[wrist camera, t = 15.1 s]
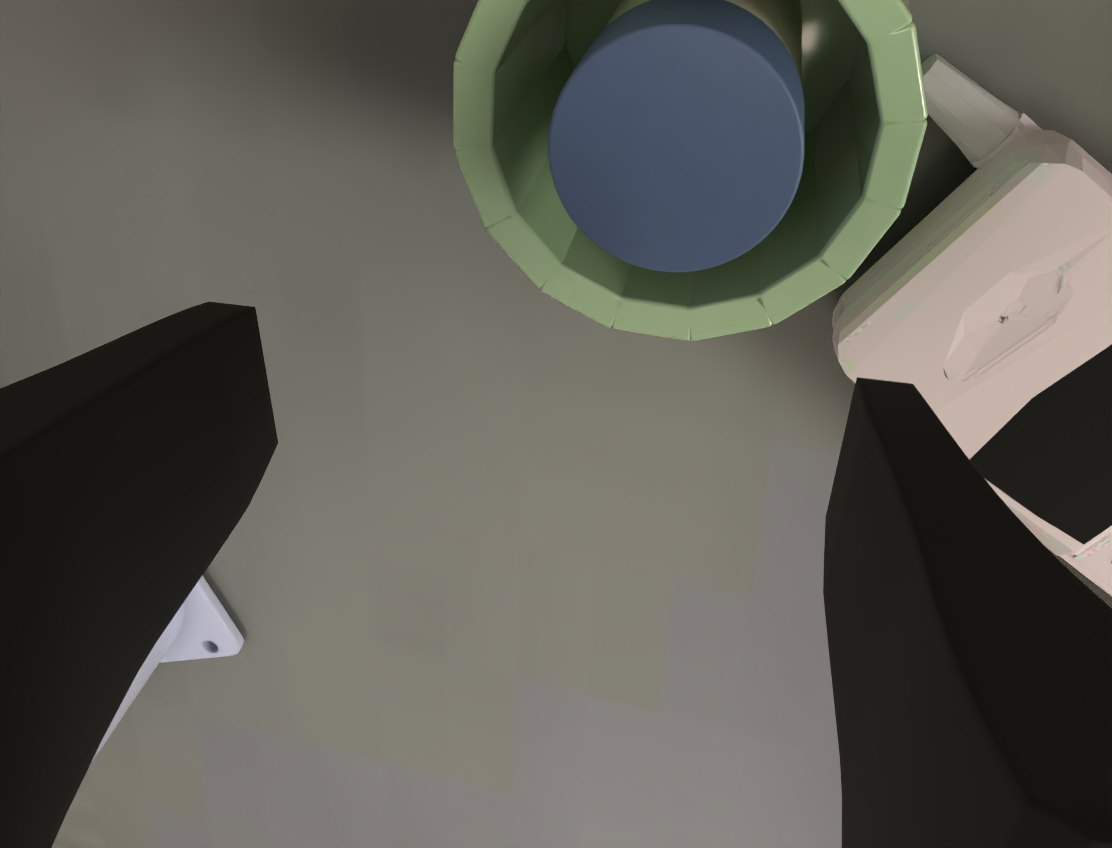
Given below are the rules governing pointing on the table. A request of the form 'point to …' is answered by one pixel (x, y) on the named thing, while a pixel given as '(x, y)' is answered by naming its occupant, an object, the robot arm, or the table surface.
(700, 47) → the lidded container
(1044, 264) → the mobile phone
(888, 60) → the pen cup
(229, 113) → the table surface
